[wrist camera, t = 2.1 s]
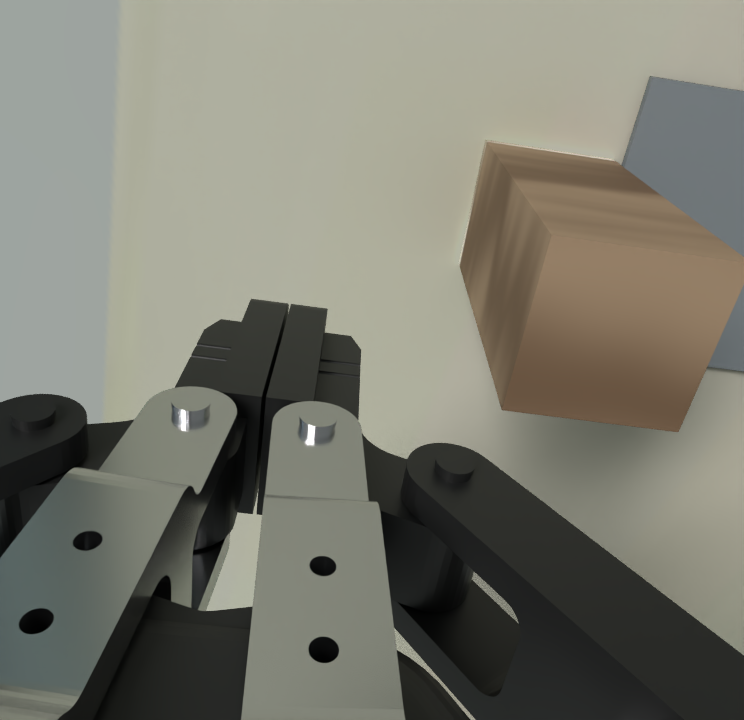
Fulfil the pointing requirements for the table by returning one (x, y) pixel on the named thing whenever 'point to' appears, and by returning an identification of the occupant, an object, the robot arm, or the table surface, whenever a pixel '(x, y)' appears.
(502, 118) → the table surface
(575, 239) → the walnut block
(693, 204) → the rubber mat
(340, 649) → the robot arm
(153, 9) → the table surface
